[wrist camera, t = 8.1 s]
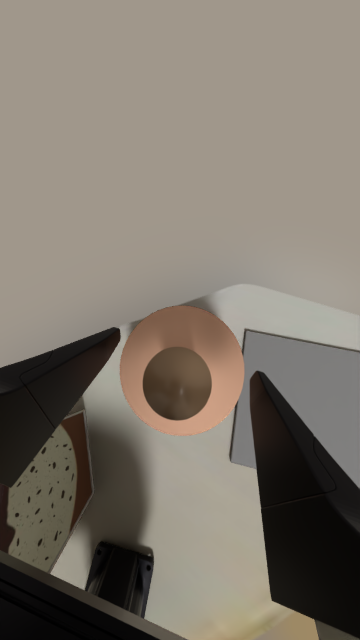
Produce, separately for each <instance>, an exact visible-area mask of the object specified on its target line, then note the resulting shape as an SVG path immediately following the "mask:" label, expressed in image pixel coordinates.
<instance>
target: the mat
mask: <svg viewBox="0 0 360 640" xmlns="http://www.w3.org/2000/svg"><path fill="white" fill-rule="evenodd" d="M243 360H244V373H245V374H244V383H243V387H242V391H241V394H240V396H239V399H238V401H237V406H236V415H235V423H234V432H233V440H232V448H231V457H230V461H231V463H235V464H239V465H243V466H247V467H251V468H254V469H257V468H256V459H255V450H254V441H253V433H252V424H251V415H250V378H251V377H252V375H253V374H254V373H255V371H261V372H264V373H265V374H266V376H267V377H268V378H269V379H270V381H271V382H272V383H273V384H274V386H275V387H276V388H277V389H278V390H279V392H280V393H281V394H282V395H283V397H284V398H285V399H286V400H287V402H288V403H289V404H290V405H291V407H292V408H293V409H294V410H295V412H296V413H297V414H298V415H299V417H300V418H301V419H302V420H303V422H304V423H305V424H306V425H307V427H308V428H309V429H310V430H311V432H312V433H313V434H314V436H315V437H316V438H317V439H318V440H319V442H320V443H321V444H322V445H323V446H324V448H325V449H326V450H327V451H328V453H329V454H330V455H331V456H332V457H333V459H334V460H335V461H336V462H337V463H338V464H339V466H340V467H341V468H342V469H343V470H344V471H345V472H346V474H347V475H348V476H349V477H350V478H351V479H352V480H353V482H354V483H355V484H356V485H357V486H358V487H359V488H360V353H358V352H353V351H348V350H343V349H338V348H333V347H328V346H322V345H317V344H312V343H307V342H302V341H297V340H292V339H286V338H281V337H276V336H271V335H266V334H261V333H256V332H250V331H245V340H244V348H243Z"/></svg>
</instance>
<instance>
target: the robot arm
mask: <svg viewBox="0 0 360 640" xmlns="http://www.w3.org/2000/svg"><path fill="white" fill-rule="evenodd" d="M120 338H121V337H120V329H119V328H115V327H113V328H110V329H107V330H105V331H102V332H99V333H97V334H94V335H91V336H89V337H86V338H83V339H81V340H78V341H75V342H73V343H70V344H68V345H65V346H62V347H60V348H57V349H55V350H52V351H49V352H46V353H44V354H41V355H38V356H35V357H33V358H29V359H26V360H24V361H21V362H17V363H14V364H11V365H8V366H4V367H2V368H0V484H2V485H5V486H7V487H10V488H12V486H13V485H14V484H15V483H16V482H17V480H18V479H19V478H20V476H21V475H22V474H23V472H24V471H25V470H26V468H27V467H28V466H29V464H30V463H31V462H32V460H33V459H34V458H35V457H36V455H37V454H38V453H39V451H40V450H41V449H42V447H43V446H44V445H45V443H46V442H47V441H48V439H49V438H50V437H51V435H52V434H53V433H54V431H55V429H57V427H58V426H59V425H60V423H61V422H62V421H63V419H64V418H65V417H66V415H67V414H68V413H69V411H70V410H71V409H72V408H73V406H74V405H75V404H76V402H77V401H78V400H79V398H80V397H81V396H82V394H83V393H84V392H85V390H86V389H87V388H88V386H89V385H90V384H91V382H92V381H93V380H94V378H95V377H96V376H97V375H98V373H99V372H100V371H101V369H102V368H103V367H104V365H105V364H106V363H107V361H108V360H109V358H110V357H111V355H112V353H113V352H114V350H115V348H116V347H117V345H118V343H119V342H120ZM250 415H251V424H252V433H253V441H254V450H255V459H256V468H257V477H258V486H259V495H260V504H261V514H262V523H263V532H264V541H265V550H266V559H267V567H268V576H269V585H270V593H271V599H272V601H274V602H276V603H278V604H281V605H283V606H285V607H287V608H290V609H292V610H294V611H296V612H299V613H301V614H303V615H306V616H308V617H310V618H312V619H314V620H315V624H316V628H317V632H318V637H319V640H360V488H359V487H358V486H357V485H356V484H355V483H354V482H353V480H352V479H351V478H350V477H349V476H348V475H347V474H346V472H345V471H344V470H343V469H342V468H341V467H340V466H339V464H338V463H337V462H336V461H335V460H334V459H333V457H332V456H331V455H330V454H329V453H328V451H327V450H326V449H325V448H324V446H323V445H322V444H321V443H320V442H319V440H318V439H317V438H316V437H315V436H314V434H313V433H312V432H311V430H310V429H309V428H308V427H307V425H306V424H305V423H304V422H303V420H302V419H301V418H300V417H299V415H298V414H297V413H296V412H295V410H294V409H293V408H292V407H291V405H290V404H289V403H288V402H287V400H286V399H285V398H284V397H283V395H282V394H281V393H280V392H279V390H278V389H277V388H276V387H275V386H274V384H273V383H272V382H271V381H270V379H269V378H268V377H267V376H266V374H265V373H264V372H261V371H255V373H254V374H253V375H252V377H251V378H250ZM148 565H150V566H148ZM153 566H154V560H153V559H152V558H151V557H149V556H146V555H143V554H139V553H136V552H133V551H130V550H127V549H123V548H120V547H117V546H114V545H111V544H108V543H104V542H100V543H99V544H98V546H97V548H96V550H95V554H94V558H93V562H92V566H91V570H90V574H89V578H88V582H87V586H86V590H82V589H80V588H78V587H76V586H74V585H72V584H70V583H68V582H66V581H64V580H62V579H59V578H57V577H55V576H53V575H51V574H49V573H47V572H45V571H43V570H41V569H38V568H36V567H34V566H32V565H30V564H28V563H26V562H24V561H22V560H20V559H17V558H15V557H13V556H11V555H9V554H7V553H5V552H3V551H1V550H0V640H187V639H185V638H183V637H181V636H179V635H177V634H175V633H173V632H171V631H168V630H166V629H164V628H162V627H160V626H158V625H156V624H154V623H152V622H150V621H147V620H145V619H144V616H145V610H146V605H147V600H148V594H149V589H150V583H151V578H152V572H153Z"/></svg>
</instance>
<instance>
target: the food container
mask: <svg viewBox="0 0 360 640" xmlns="http://www.w3.org/2000/svg"><path fill="white" fill-rule="evenodd" d="M94 493H95V492H94V483H93V474H92V465H91V456H90V447H89V438H88V429H87V420H86V411H85V409H84V410H81V411H78V412H76V413H73V414H71V415H68V416H66V417H65V418H64V419H63V421H62V422H61V423H60V425H59V426H58V427H57V429H55V431H54V433H53V434H52V435H51V437H50V438H49V439H48V441H47V442H46V443H45V445H44V446H43V447H42V449H41V450H40V451H39V453H38V454H37V455H36V457H35V458H34V459H33V460H32V462H31V463H30V464H29V466H28V467H27V468H26V470H25V471H24V472H23V474H22V475H21V476H20V478H19V479H18V480H17V482H16V483H15V484H14V485H13V486H12V488H10V487H7V486H5V485H2V484H0V550H1V551H3V552H5V553H7V554H9V555H11V556H13V557H15V558H17V559H20V560H22V561H24V562H26V563H28V564H30V565H32V566H34V567H36V568H38V569H41V570H43V571H45V572H47V573H49V574H50V573H51V571H52V569H53V567H54V565H55V564H56V562H57V560H58V558H59V556H60V555H61V553H62V551H63V549H64V547H65V546H66V544H67V542H68V540H69V538H70V536H71V535H72V533H73V531H74V529H75V527H76V526H77V524H78V522H79V520H80V518H81V516H82V515H83V513H84V511H85V509H86V507H87V506H88V504H89V502H90V500H91V498H92V496H93V495H94Z"/></svg>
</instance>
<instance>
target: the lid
mask: <svg viewBox="0 0 360 640" xmlns="http://www.w3.org/2000/svg"><path fill="white" fill-rule="evenodd" d="M244 374H245V373H244V360H243V355H242V351H241V348H240V346H239V343H238V341H237V339H236V337H235V336H234V334H233V333H232V331H231V330H230V329H229V327H228V326H227V325H226V324H225V323H224V322H223V321H222V320H220V319H219V318H218V317H216V316H215V315H213V314H212V313H210V312H208V311H205V310H203V309H200V308H197V307H192V306H172V307H167V308H164V309H161V310H158V311H156V312H154V313H152V314H151V315H149V316H147V317H146V318H145V319H143V320H142V321H141V322H140V323H139V324H138V325H137V326H136V327H135V328H134V330H133V331H132V333H131V334H130V336H129V337H128V339H127V341H126V343H125V346H124V348H123V352H122V355H121V361H120V379H121V385H122V389H123V392H124V395H125V397H126V400H127V402H128V403H129V405H130V407H131V408H132V410H133V411H134V412H135V414H136V415H137V416H138V417H139V418H140V419H141V420H142V421H144V422H145V423H146V424H147V425H149V426H150V427H152V428H154V429H156V430H158V431H160V432H163V433H166V434H170V435H178V436H188V435H194V434H199V433H202V432H205V431H207V430H209V429H211V428H213V427H215V426H216V425H217V424H219V423H220V422H221V421H223V420H224V419H225V418H226V417H227V416H228V415H229V413H230V412H231V411H232V409H233V408H234V406H235V405H236V403H237V401H238V399H239V396H240V394H241V391H242V387H243V383H244Z"/></svg>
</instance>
